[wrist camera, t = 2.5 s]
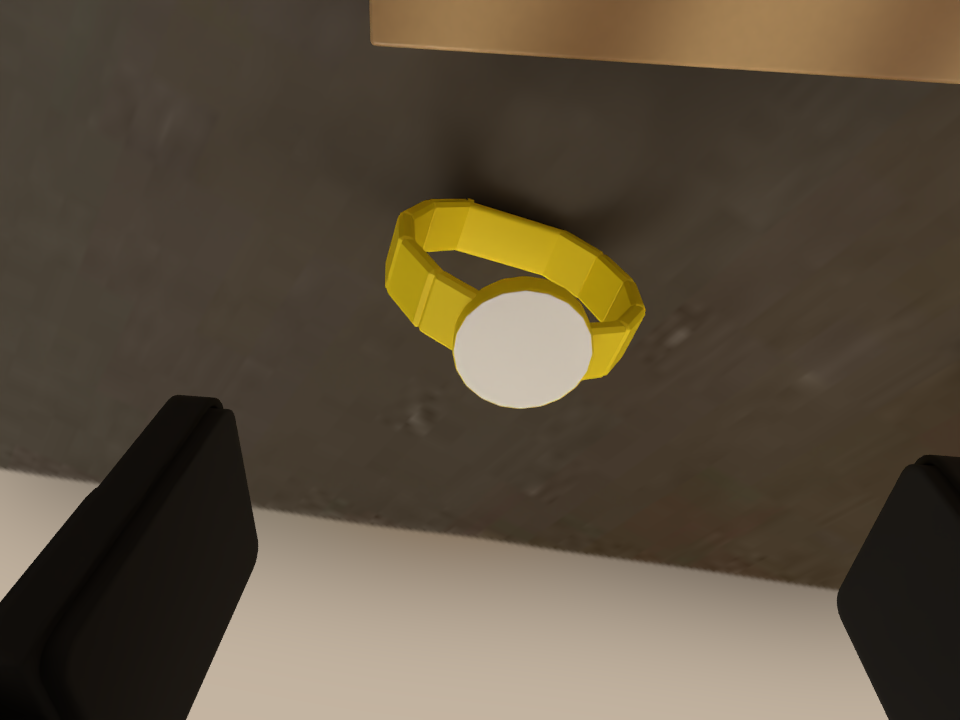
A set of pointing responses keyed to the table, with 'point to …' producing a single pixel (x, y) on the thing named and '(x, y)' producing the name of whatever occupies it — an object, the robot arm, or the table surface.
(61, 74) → the table surface
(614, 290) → the watch
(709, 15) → the desk stand
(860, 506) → the table surface
